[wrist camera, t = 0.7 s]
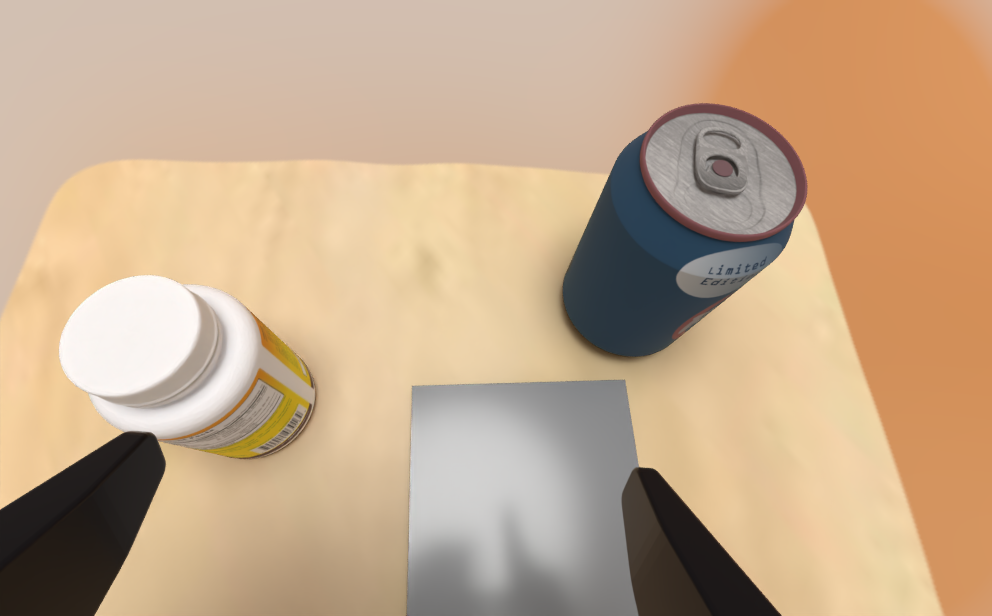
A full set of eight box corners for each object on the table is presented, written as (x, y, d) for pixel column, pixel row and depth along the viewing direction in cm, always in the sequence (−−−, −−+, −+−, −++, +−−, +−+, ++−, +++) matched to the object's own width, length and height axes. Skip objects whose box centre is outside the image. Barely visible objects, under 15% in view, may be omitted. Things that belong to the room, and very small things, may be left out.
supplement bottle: (220, 346, 25) (72, 244, 15) (328, 353, 25) (248, 256, 15) (186, 458, 22) (-11, 418, 13) (305, 465, 23) (196, 430, 13)
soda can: (675, 375, 26) (836, 273, 15) (549, 349, 26) (616, 228, 15) (679, 265, 28) (817, 110, 17) (566, 242, 29) (633, 74, 18)
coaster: (659, 626, 21) (664, 629, 20) (407, 644, 20) (405, 648, 19) (621, 382, 25) (625, 379, 25) (413, 388, 24) (412, 386, 24)
